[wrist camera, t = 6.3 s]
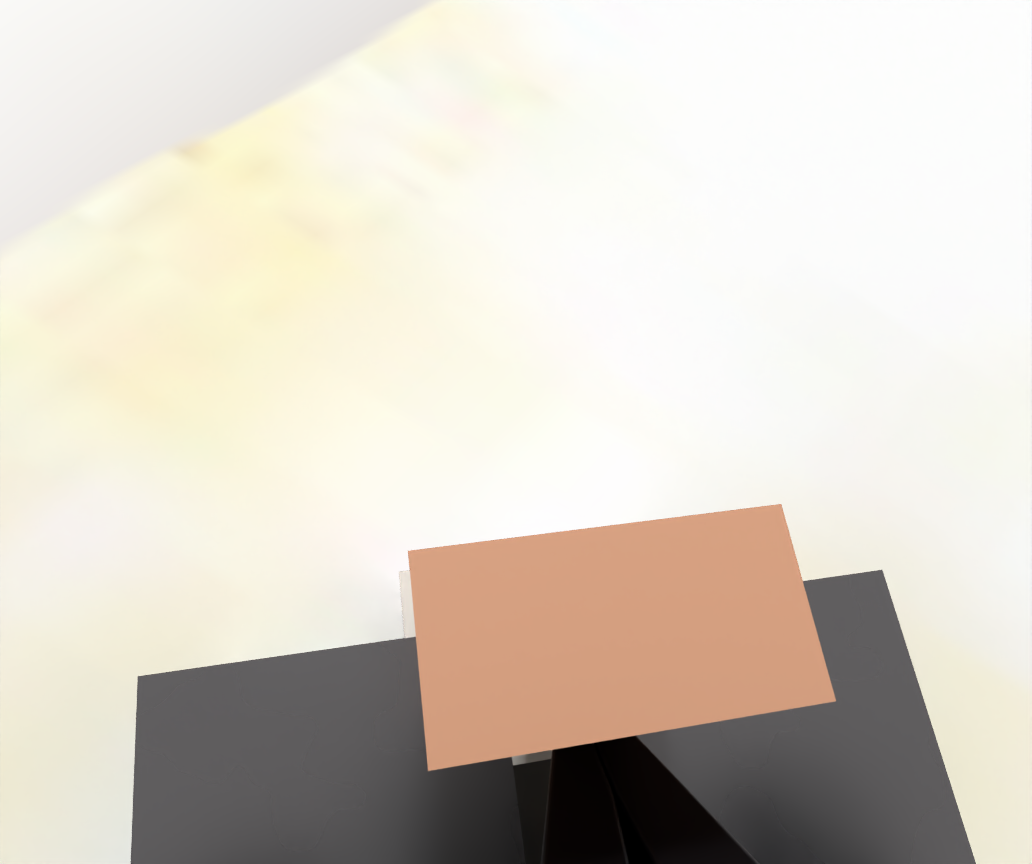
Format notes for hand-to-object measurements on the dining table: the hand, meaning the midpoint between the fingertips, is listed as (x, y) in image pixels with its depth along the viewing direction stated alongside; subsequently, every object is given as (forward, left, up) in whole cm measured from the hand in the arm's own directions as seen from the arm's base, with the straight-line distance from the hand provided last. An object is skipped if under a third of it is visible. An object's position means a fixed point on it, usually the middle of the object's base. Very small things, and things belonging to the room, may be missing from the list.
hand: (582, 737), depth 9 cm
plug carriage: (-1, +1, -7) cm, 8 cm away
